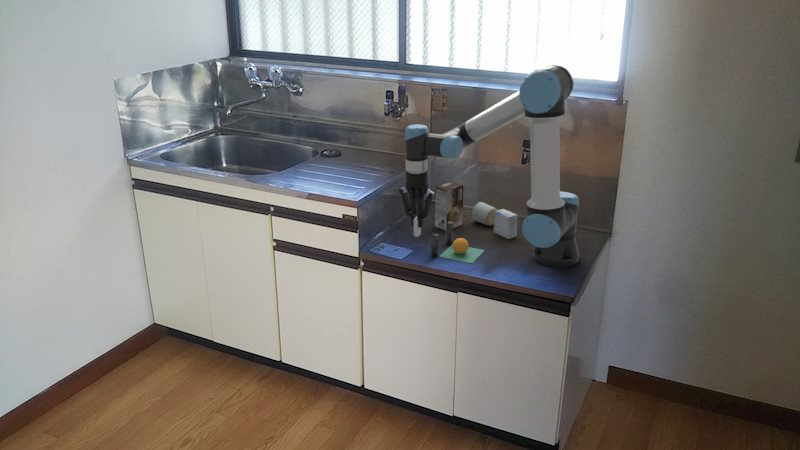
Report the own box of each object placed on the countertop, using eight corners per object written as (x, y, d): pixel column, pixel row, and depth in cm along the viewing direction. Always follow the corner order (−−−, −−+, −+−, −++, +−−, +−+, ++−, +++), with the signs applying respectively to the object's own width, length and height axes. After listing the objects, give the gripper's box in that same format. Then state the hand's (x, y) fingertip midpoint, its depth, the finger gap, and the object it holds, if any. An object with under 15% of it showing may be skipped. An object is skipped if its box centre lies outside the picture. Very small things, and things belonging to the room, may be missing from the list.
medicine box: (516, 237, 247) (518, 214, 244) (507, 239, 245) (509, 217, 242) (502, 230, 254) (503, 208, 250) (493, 232, 251) (494, 210, 248)
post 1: (439, 255, 232) (440, 234, 229) (436, 258, 230) (436, 236, 227) (432, 254, 233) (433, 232, 230) (429, 257, 231) (429, 235, 228)
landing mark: (484, 250, 236) (484, 250, 236) (472, 263, 226) (472, 263, 226) (452, 244, 241) (452, 244, 241) (438, 256, 231) (438, 256, 231)
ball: (468, 253, 235) (473, 240, 233) (461, 259, 231) (467, 245, 228) (454, 246, 237) (459, 233, 234) (447, 251, 233) (452, 238, 230)
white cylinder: (487, 228, 255) (488, 209, 252) (471, 222, 261) (472, 203, 258) (505, 222, 261) (506, 203, 259) (489, 216, 267) (490, 198, 264)
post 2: (454, 242, 242) (454, 221, 239) (451, 245, 240) (451, 224, 237) (447, 241, 243) (447, 220, 241) (444, 244, 241) (444, 223, 238)
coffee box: (450, 220, 263) (451, 180, 257) (463, 224, 258) (464, 184, 253) (434, 226, 257) (434, 185, 251) (446, 231, 253) (447, 189, 247)
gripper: (438, 170, 231) (438, 234, 240) (404, 165, 237) (405, 228, 245) (429, 175, 225) (429, 241, 233) (394, 171, 230) (395, 236, 239)
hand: (417, 235), depth 239 cm, fingers closed
